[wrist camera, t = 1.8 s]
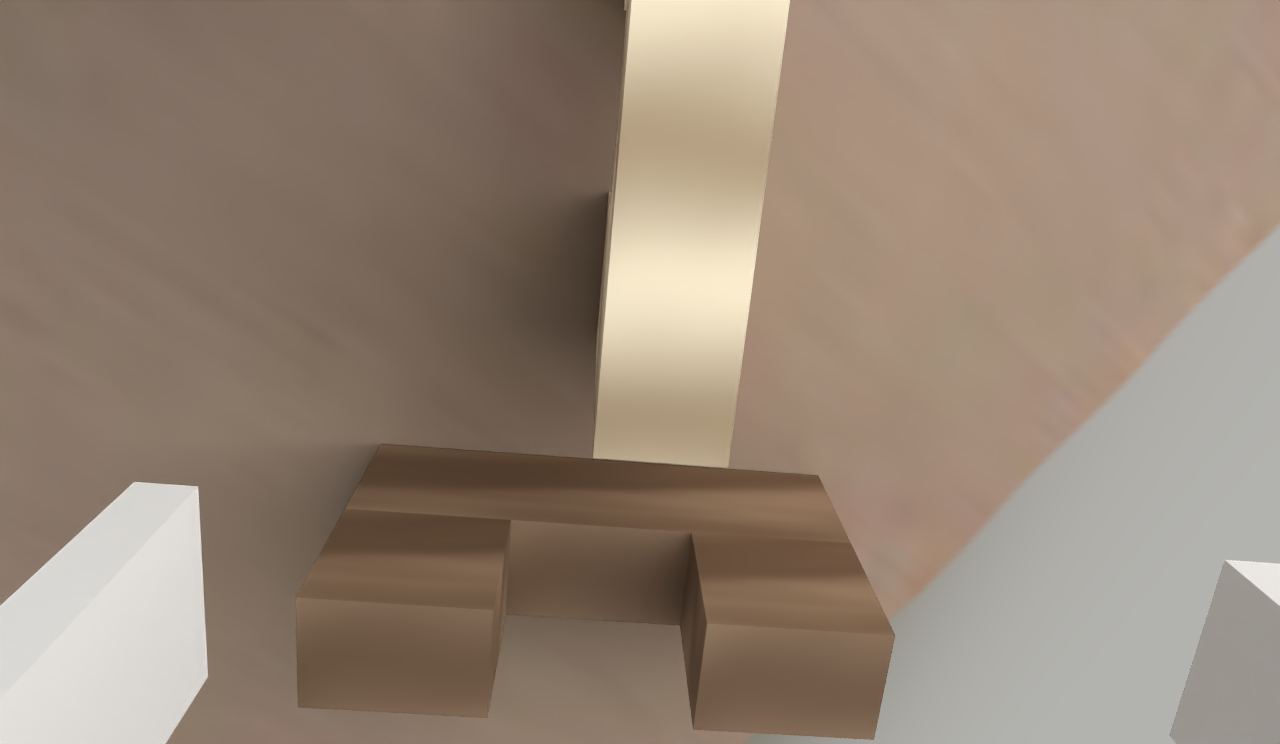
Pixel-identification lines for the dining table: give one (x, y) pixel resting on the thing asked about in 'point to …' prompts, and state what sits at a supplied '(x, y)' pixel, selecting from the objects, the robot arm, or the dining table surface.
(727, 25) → the cross plate
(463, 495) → the slotted base
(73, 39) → the dining table surface
